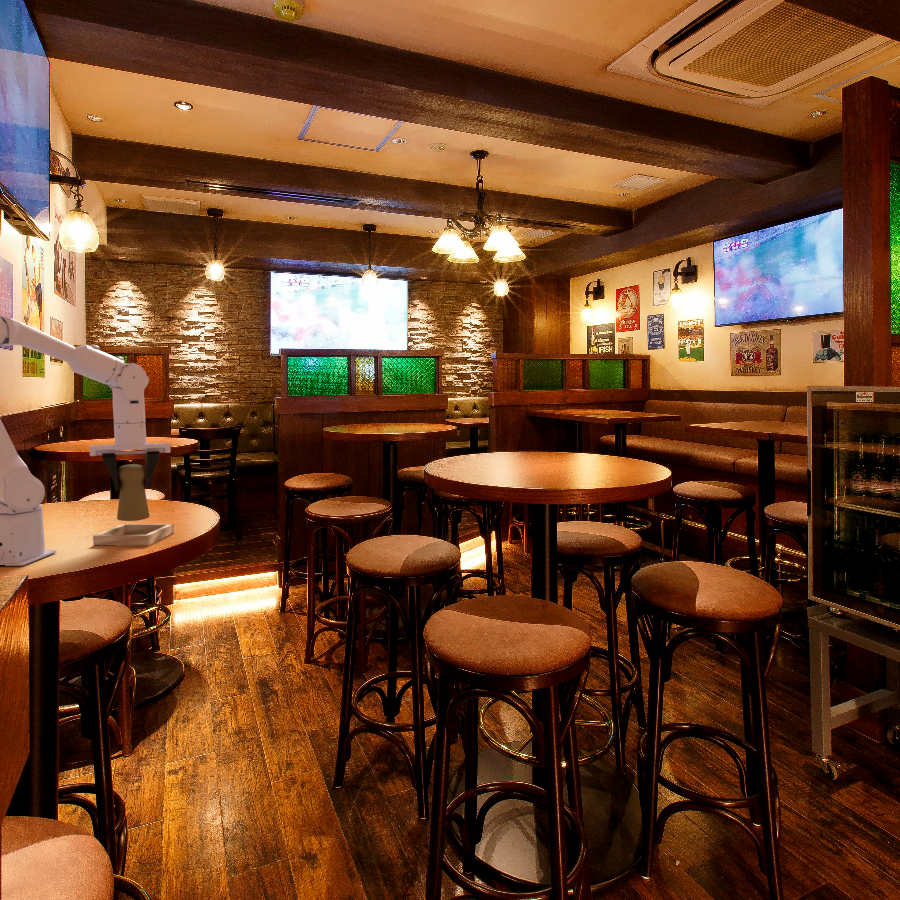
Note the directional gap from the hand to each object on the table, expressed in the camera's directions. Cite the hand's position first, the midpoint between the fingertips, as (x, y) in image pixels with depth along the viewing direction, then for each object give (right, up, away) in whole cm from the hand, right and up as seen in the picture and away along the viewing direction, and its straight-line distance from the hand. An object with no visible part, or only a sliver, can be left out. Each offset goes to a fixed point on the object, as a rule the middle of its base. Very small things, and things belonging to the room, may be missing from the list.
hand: (132, 489), depth 126 cm
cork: (-1, -6, +1) cm, 6 cm away
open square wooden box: (0, -10, +1) cm, 10 cm away
